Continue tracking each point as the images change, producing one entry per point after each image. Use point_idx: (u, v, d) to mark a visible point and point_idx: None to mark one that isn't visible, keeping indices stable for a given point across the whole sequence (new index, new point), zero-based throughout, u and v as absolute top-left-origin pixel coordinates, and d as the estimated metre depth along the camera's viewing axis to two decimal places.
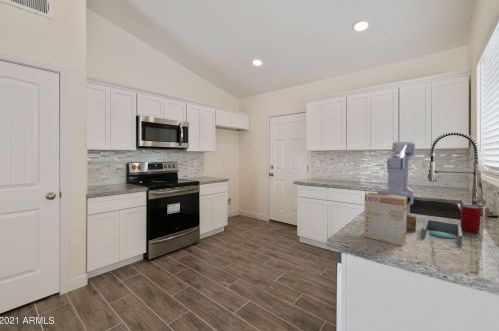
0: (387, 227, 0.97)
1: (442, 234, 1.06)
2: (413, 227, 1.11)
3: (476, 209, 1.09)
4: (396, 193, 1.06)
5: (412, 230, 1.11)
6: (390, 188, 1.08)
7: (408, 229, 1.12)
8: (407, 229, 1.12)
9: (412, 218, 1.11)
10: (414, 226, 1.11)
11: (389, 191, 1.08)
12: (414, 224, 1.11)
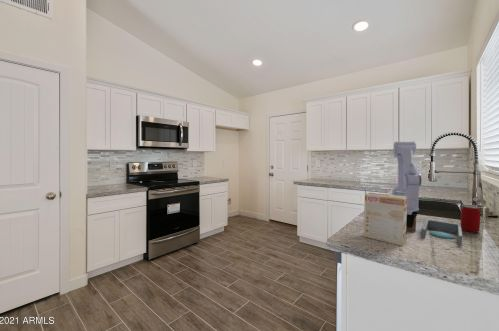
0: (387, 227, 0.97)
1: (442, 234, 1.06)
2: (413, 227, 1.11)
3: (476, 209, 1.09)
4: None
5: (412, 230, 1.11)
6: None
7: (408, 229, 1.12)
8: (407, 229, 1.12)
9: None
10: (414, 226, 1.11)
11: None
12: (414, 224, 1.11)
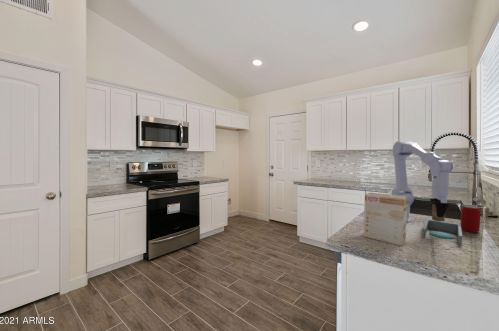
0: (387, 227, 0.97)
1: (442, 234, 1.06)
2: None
3: (476, 209, 1.09)
4: (433, 195, 1.06)
5: (442, 220, 1.04)
6: None
7: (438, 219, 1.05)
8: (437, 219, 1.05)
9: None
10: (444, 215, 1.05)
11: None
12: None
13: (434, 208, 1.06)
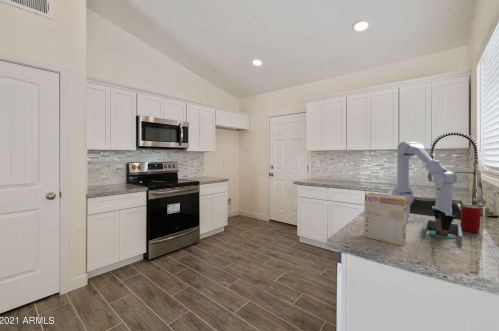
0: (387, 227, 0.97)
1: None
2: (447, 231, 1.04)
3: (476, 209, 1.09)
4: (437, 207, 1.05)
5: (446, 235, 1.04)
6: None
7: (442, 234, 1.04)
8: (441, 234, 1.05)
9: None
10: (447, 230, 1.04)
11: None
12: None
13: (438, 223, 1.05)
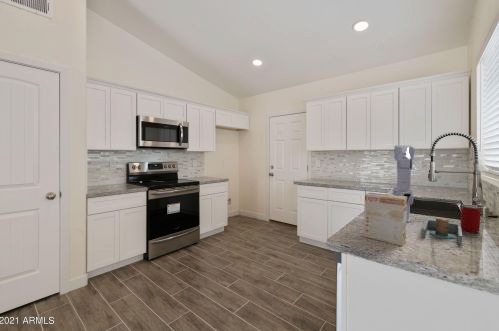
0: (387, 227, 0.97)
1: None
2: (447, 231, 1.04)
3: (476, 209, 1.09)
4: (396, 190, 1.18)
5: (446, 235, 1.04)
6: None
7: (442, 234, 1.04)
8: (441, 234, 1.05)
9: (446, 221, 1.04)
10: (447, 230, 1.04)
11: None
12: (447, 228, 1.04)
13: (438, 223, 1.05)
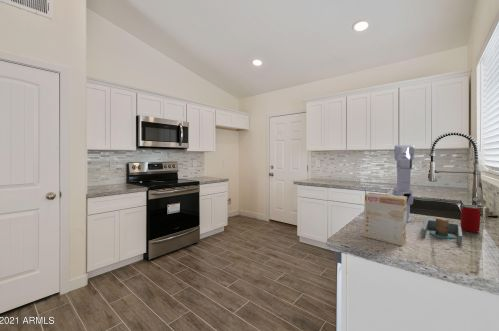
0: (387, 227, 0.97)
1: None
2: (447, 231, 1.04)
3: (476, 209, 1.09)
4: (396, 190, 1.19)
5: (446, 235, 1.04)
6: None
7: (442, 234, 1.04)
8: (441, 234, 1.05)
9: (446, 221, 1.04)
10: (447, 230, 1.04)
11: None
12: (447, 228, 1.04)
13: (438, 223, 1.05)
